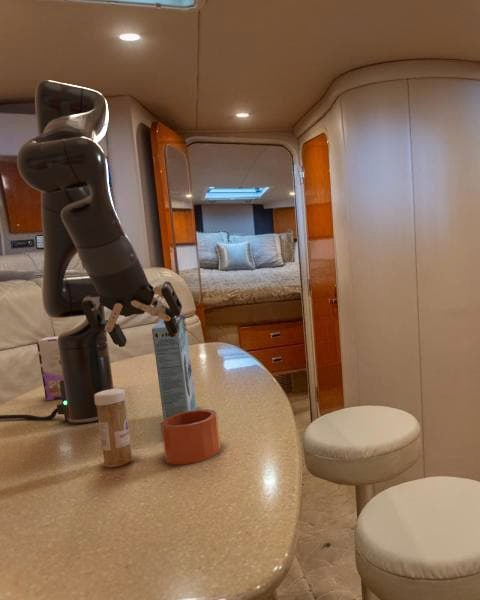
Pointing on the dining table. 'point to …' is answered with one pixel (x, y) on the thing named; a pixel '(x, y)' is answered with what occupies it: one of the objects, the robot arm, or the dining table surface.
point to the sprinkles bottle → (113, 427)
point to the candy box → (50, 366)
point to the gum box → (174, 368)
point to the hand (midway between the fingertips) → (148, 339)
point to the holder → (190, 436)
